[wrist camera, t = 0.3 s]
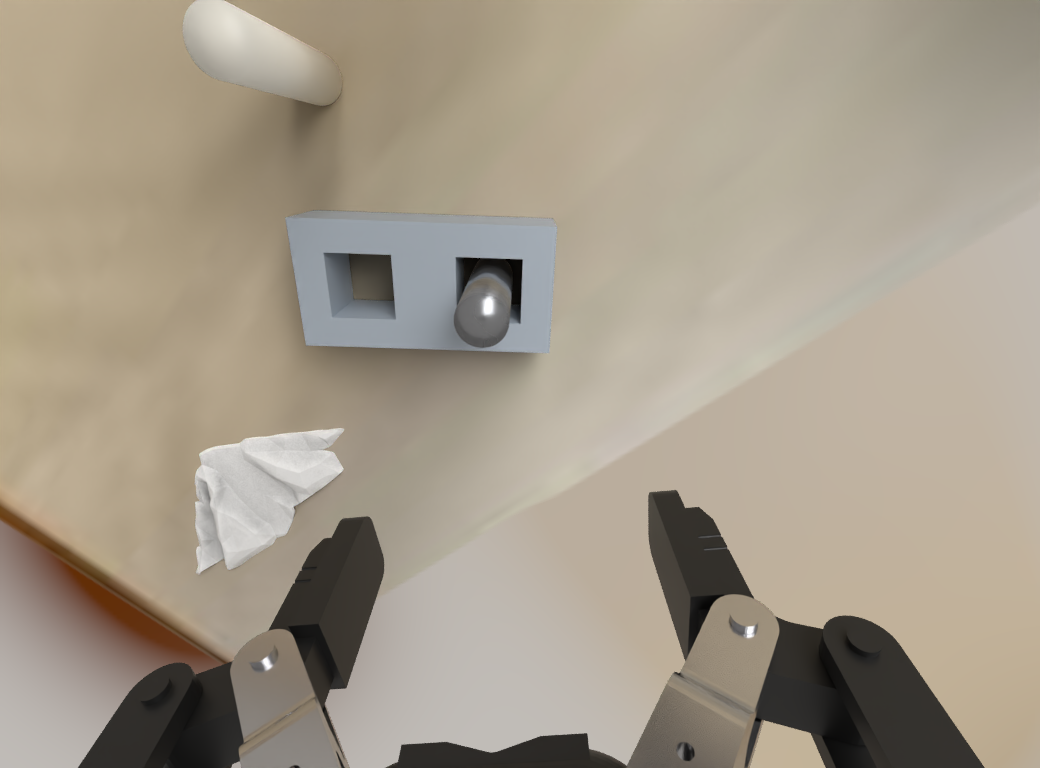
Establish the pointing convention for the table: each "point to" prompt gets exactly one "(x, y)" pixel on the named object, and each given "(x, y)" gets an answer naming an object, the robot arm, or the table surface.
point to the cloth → (257, 491)
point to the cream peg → (257, 54)
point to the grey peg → (485, 304)
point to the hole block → (417, 277)
